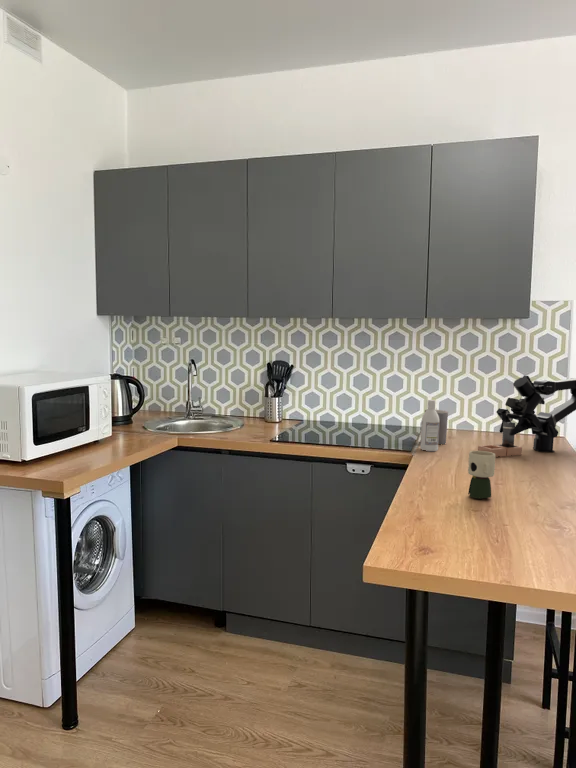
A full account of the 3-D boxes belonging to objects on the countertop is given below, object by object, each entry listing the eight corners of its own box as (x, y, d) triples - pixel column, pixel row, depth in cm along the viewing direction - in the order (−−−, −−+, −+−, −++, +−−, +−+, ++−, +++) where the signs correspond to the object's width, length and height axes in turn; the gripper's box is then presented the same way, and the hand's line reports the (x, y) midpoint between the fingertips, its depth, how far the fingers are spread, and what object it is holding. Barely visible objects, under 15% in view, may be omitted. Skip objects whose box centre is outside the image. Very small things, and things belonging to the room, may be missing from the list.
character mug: (461, 492, 175) (463, 448, 174) (485, 493, 175) (487, 449, 174) (473, 503, 164) (476, 456, 163) (498, 503, 164) (501, 457, 163)
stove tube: (507, 451, 238) (509, 421, 237) (516, 453, 234) (518, 423, 233) (498, 451, 236) (500, 421, 235) (507, 453, 232) (509, 423, 231)
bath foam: (441, 451, 236) (444, 400, 234) (428, 452, 233) (431, 401, 231) (429, 447, 242) (432, 398, 240) (416, 449, 239) (419, 399, 237)
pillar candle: (418, 442, 253) (420, 407, 252) (430, 439, 260) (432, 405, 259) (438, 446, 246) (440, 410, 245) (450, 443, 253) (452, 408, 252)
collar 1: (492, 452, 236) (492, 444, 236) (506, 456, 230) (506, 448, 229) (477, 453, 233) (478, 445, 233) (491, 457, 227) (491, 449, 226)
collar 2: (507, 451, 240) (507, 443, 240) (521, 454, 233) (521, 447, 233) (493, 452, 237) (493, 444, 236) (507, 455, 230) (507, 448, 230)
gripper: (501, 388, 243) (478, 416, 239) (537, 393, 226) (513, 423, 222) (514, 406, 247) (492, 434, 243) (551, 413, 230) (528, 443, 226)
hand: (505, 433), depth 234 cm, fingers open, 6 cm apart
